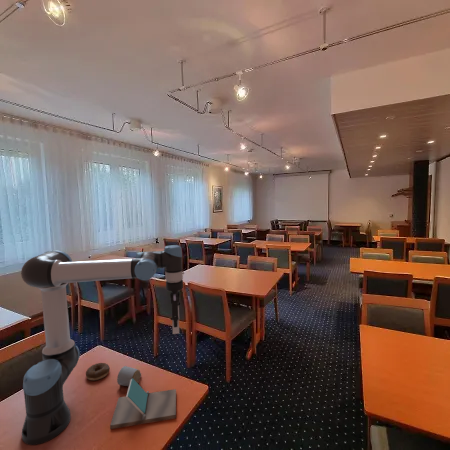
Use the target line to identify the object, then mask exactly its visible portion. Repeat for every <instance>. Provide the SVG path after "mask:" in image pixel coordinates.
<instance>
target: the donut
mask: <svg viewBox="0 0 450 450" xmlns="http://www.w3.org/2000/svg"><path fill="white" fill-rule="evenodd" d="M109 372H110V366H109V364H108V363H107V362H106V363H105V362H98V363H95V364H93V365H91V366H89V367H88V368H87V369H86V372H85V377H86V378H87V380H89V381H98V380H101V379H103V378H104V377H105V378H106V376H107V375H108V374H109Z"/></svg>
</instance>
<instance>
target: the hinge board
mask: <svg viewBox="0 0 450 450" xmlns="http://www.w3.org/2000/svg"><path fill="white" fill-rule="evenodd" d="M146 393H147V394H148V396H147V403H146V409H145V413H144V414H143V415H142V414H141V413H140V411H139V410H138V409H137V408H136V407H135V406H134V405H133V404H132V403H131V402H130V401H129V400H128V399H127V398H126V396H127V395H126V396H121V397H120V396H118V399H117V402H116V404H115V409H114V411H113V416H112V418H111V422H110V424H109V425H110V430H113V429H118V428H125V427H131V426H137V425H143V424H149V423H154V422H155V423H157V422H161V421H167V420H173V419H177V389H176V388H175V389H174V388H173V389H168V390H167V389H166V390H159V391H154V392H150V391H148V390H147V391H146Z"/></svg>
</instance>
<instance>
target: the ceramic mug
mask: <svg viewBox="0 0 450 450" xmlns="http://www.w3.org/2000/svg"><path fill="white" fill-rule="evenodd" d="M141 377H142V373H141V371H140V369H137V368H134V367H130V366H126V365H124V366H122V367H121V368H120V370H119V371H118V375H117V378H116V379H117V380H116V383H117V384H118V385H119V386H124V387H129V384H130V381H131V379H132V378H133V379H134V380H135V381H136V382H137V383H138V384H139V383H140V380H141Z"/></svg>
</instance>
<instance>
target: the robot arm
mask: <svg viewBox="0 0 450 450" xmlns="http://www.w3.org/2000/svg"><path fill="white" fill-rule="evenodd" d="M182 249H183V248H182V246H180V245H177V244H173V245H165V246H164V249H163V250H158V251H157V250H156V251H154V250H153V251H141V252H140V251H139V252H137V253H136V254H135V258H120V259H119V258H117V259H99V260H79V261H73V260H72V258H71V255H69V254H68V253H67V252H65V251H63V250H57V249H56V250H55V249H54V250H48V251H45V252H44V253H42V254H38V255H37V256H34V257H31V258H29V259H28V260H27V261H26V262H25V263H24V264H23V265H22V267H21V270H20V275H21V279H22V281H24V283H25V284H26V285H28V286H29V287H32V288H36V289H38V290H40V293H41V304H42V306H41V307H42V314H43V326H44V327H43V328H44V337H45V346H44V347H43V348H42V351H41V353H42V354H41V356H42V360H41V361H39V362H37V364H34V365H32V366H31V367H30V368H29V369H28V370H27V371H26V372H25V374H24V376H23V378H22V380H23V383H22V391H23V396H24V405H25V407H24V408H25V414H26V415H25V419H24V422H23V426H22V428H21V438H22V442H23V443H24V444H26V445H31V446H35V445H40V444H43V443H46V442H49V441H51V440H53V439H54V438H56V437H57V436H59V434H61V433H62V432H63V431H64V430H65V429H66V428H67V427H68V426H69V423H70V422H71V410H70V408H69V406H68V405H67V403H66V401H65V398H64V384H65V383H66V381H67V379H68V378H69V377H70V375H71V373H72V372H73V371H74V369H75V367H76V366H77V365H78V361H79V359H80V354H81V353H80V349H79V347H78V345H76V344H75V343H76V342H75V340H73V339H71V334H70V333H71V332H70V322H69V321H70V320H69V309H68V298H67V297H68V296H67V285H68V284H69V283H70V284H71V283H83V282H96V281H97V282H98V281H113V280H124V279H139V280H141V281H149V280H150V279H152V278H153V277H154V276H155V274H156V273H157V270H158V269H165V273H164V274H165V289H166V290H167V291H169V292H170V304H171V317H170V321H172V322H171V324H172V335H176V334H180V306H181V302H180V291H181V290H183V289H184V280H183V279H184V276H183V275H184V274H185V272H183V251H182Z"/></svg>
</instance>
